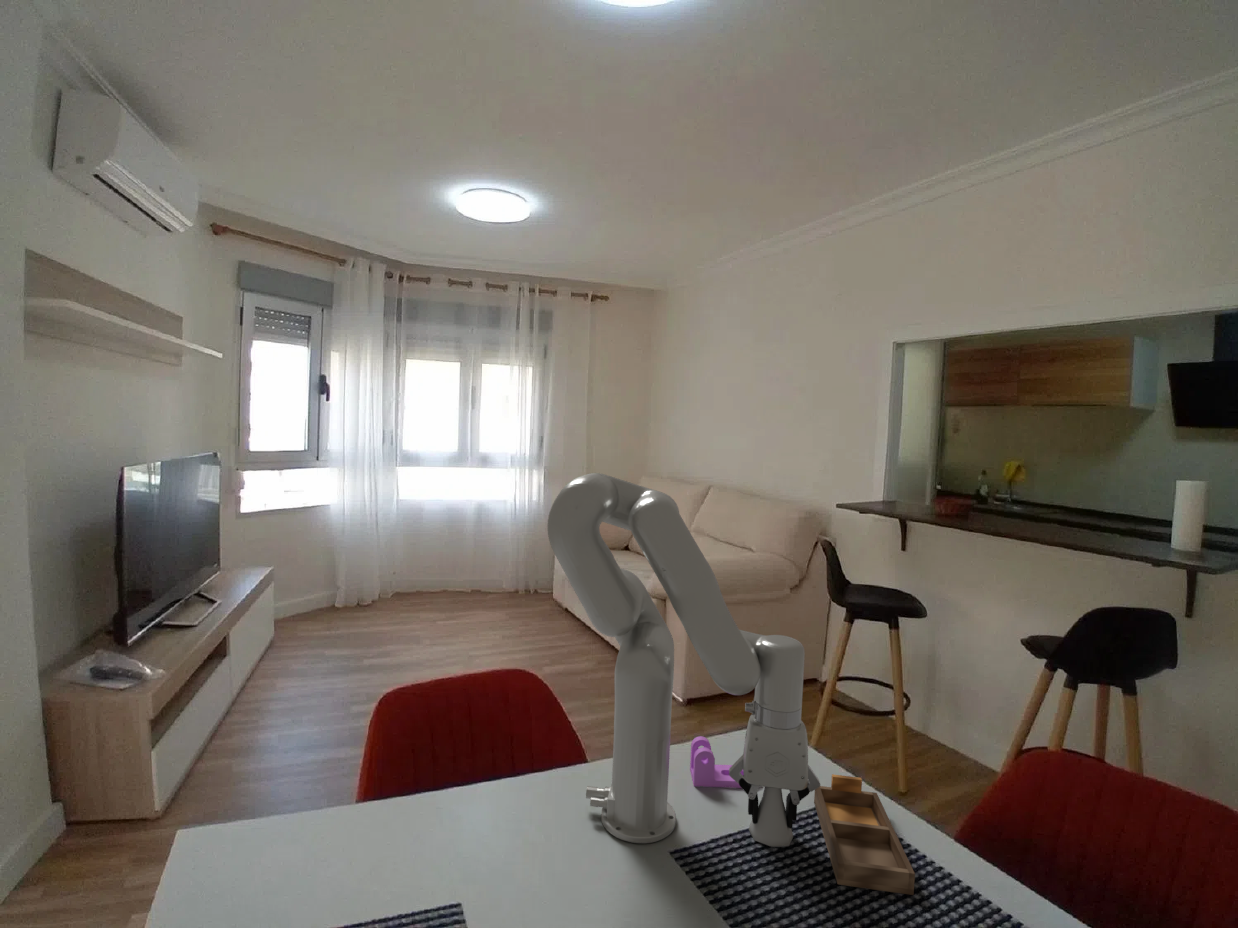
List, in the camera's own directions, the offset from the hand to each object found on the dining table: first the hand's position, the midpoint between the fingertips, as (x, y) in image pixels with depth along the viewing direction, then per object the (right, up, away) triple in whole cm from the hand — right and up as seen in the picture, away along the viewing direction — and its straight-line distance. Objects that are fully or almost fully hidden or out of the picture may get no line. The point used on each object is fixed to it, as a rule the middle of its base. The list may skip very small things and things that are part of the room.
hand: (771, 819), depth 100 cm
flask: (0, -3, 0) cm, 3 cm away
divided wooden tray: (+14, -3, -1) cm, 14 cm away
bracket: (-5, -2, +16) cm, 17 cm away
